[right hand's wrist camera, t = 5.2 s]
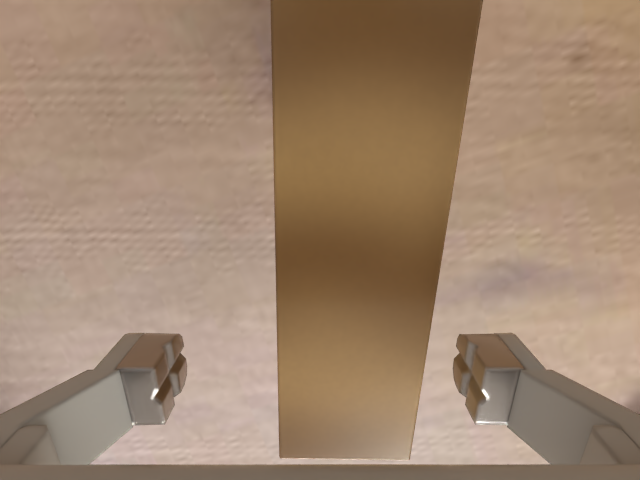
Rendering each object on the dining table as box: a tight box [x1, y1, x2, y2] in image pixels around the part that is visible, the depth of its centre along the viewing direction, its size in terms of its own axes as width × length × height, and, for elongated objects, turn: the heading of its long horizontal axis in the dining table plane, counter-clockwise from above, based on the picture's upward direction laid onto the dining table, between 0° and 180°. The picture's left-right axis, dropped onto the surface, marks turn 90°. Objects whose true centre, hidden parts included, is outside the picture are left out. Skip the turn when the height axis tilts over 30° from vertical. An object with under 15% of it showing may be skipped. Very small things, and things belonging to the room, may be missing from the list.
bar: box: [271, 0, 483, 460], centre depth 12 cm, size 24×4×9 cm, turn 178°
